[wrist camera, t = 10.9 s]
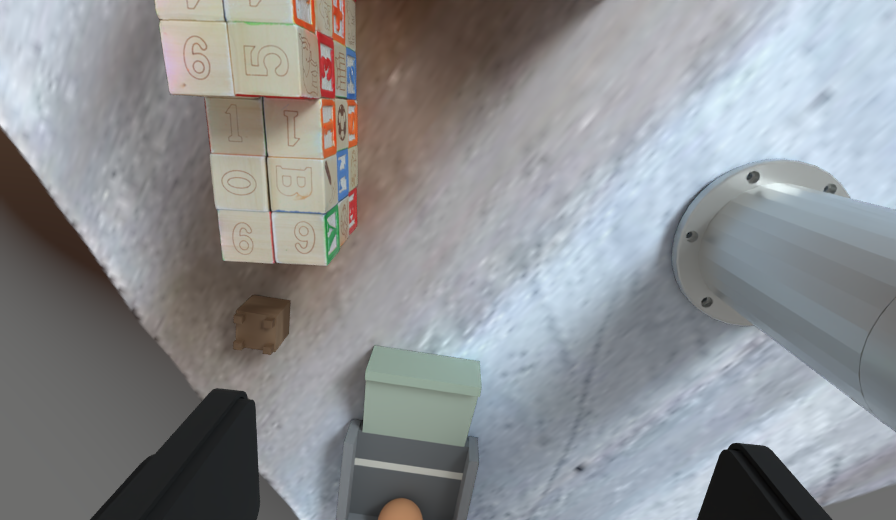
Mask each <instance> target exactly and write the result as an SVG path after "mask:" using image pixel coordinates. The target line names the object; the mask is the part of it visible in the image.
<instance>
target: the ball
mask: <svg viewBox="0 0 896 520" xmlns="http://www.w3.org/2000/svg"><path fill="white" fill-rule="evenodd" d="M378 520H423V518H422V514H421V511H420V509H419V508H418V506H417V505H416V504H415V503H414V502H413V501H411V500H409V499H406V498H397V499H394V500H391V501H390V502H388V503H387V504H386V505H385V506H384V507H383V509H382V510H381V512H380V514H379V517H378Z"/></svg>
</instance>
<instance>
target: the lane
mask: <svg viewBox="0 0 896 520" xmlns="http://www.w3.org/2000/svg"><path fill="white" fill-rule="evenodd" d="M362 431H363V422H361V420H354V419H352V420H351V423H350V426H349V429H348V432H347V435H346V438H345V441H344V446H343V456H342V465H341V475H340V485H339V494H338V504H337V514H336V520H378V517H379V514H380V512H381V510H382V509H383V507H384V506H385V505H386V504H387V503H388V502H390V501H391V500H394V499H397V498H406V499H409V500H411V501H413V502H414V503H415V504H416V505H417V506H418V508H419V509H420V511H421V514H422V518H423V520H466V519H467V514H468V510H469V505H470V501H471V496H472V492H473V487H474V483H475V478H476V474H477V469H478V465H479V453H478V438H477V437H470V436H469V437H467V439H466V442H465V446H464V447H461V446H454V445H447V444H440V443H434V442H427V441H420V440H413V439H406V438H399V437H393V436H386V435H379V434H372V433H365V432H362Z"/></svg>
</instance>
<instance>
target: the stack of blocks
mask: <svg viewBox="0 0 896 520" xmlns="http://www.w3.org/2000/svg"><path fill="white" fill-rule="evenodd" d="M154 3H155V10H156V13H157V16H158V18H159V20H160V23H159V30H160V36H161V42H162V49H163V55H164V62H165V69H166V75H167V80H168V87H169V92H170V94H171V95H188V96H200V97H204V100H205V109H206V117H207V126H208V135H209V144H210V151H211V153H210V156H209V157H210V166H211V175H212V184H213V193H214V201H215V208H216V209H217V210H218V223H219V231H220V242H221V250H222V258H223V261H235V262H255V263H271V264H273V263H276V262H277V263H286V264H307V265H325V266H326V265H328V264H329V263H330V262H331V260H332V259H333V258H334V257H335V256H336V254H337V253H338V252H339V250H340V247H341V246H342V245H343V243H344V242H345V241H346V240H347V239H348V238H349V235H350V234H351V233H352V232H353V231H354V229H355V228H356V227H357V189H356V186H357V185H358V159H357V137H358V134H357V100H356V54H355V50H356V23H355V3H356V0H154Z"/></svg>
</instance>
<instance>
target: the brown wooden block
mask: <svg viewBox="0 0 896 520" xmlns="http://www.w3.org/2000/svg"><path fill="white" fill-rule="evenodd" d="M289 320H290V300H284V299H277V298H271V297H264V296H258V295H252V296H251V297H250V298H249V299H248V300H247V301H246V302H245V303H244V304H243V305H242V306H241V307H239V308H238V309H237V310H236V314H235V315H234V323H236V340H235V341H234V342H233V349H235V350H242V349H243V348H251V349H258V350H263V354H268V355H271V354H272V353H273V352H276V350H277V349H278V347H279V346H280V345H281V343H282V342H283V341H284V339H285V338H286V337H287V335H288V334H289Z"/></svg>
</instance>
